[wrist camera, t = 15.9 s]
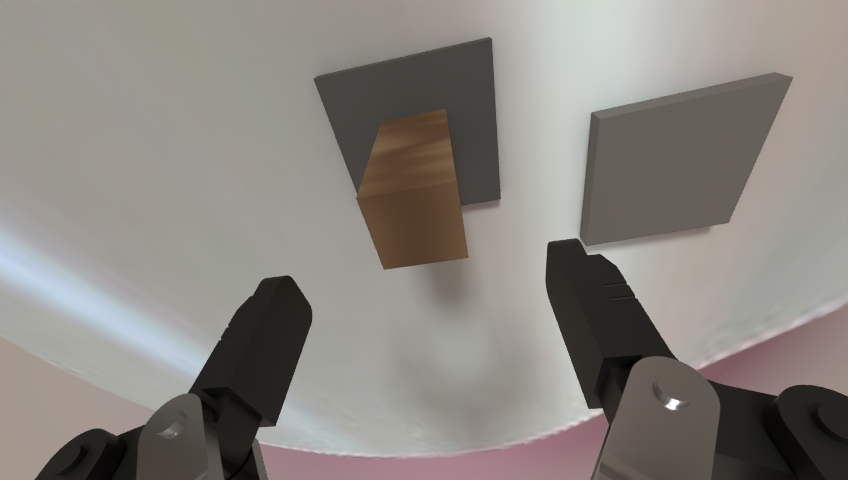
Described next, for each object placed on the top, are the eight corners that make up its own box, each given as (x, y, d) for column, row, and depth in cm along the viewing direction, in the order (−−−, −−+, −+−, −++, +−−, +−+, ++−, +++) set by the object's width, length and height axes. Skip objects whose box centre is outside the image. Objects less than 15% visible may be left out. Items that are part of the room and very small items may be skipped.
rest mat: (489, 37, 16) (491, 38, 15) (498, 194, 21) (500, 198, 21) (316, 76, 17) (313, 79, 16) (368, 215, 22) (367, 220, 22)
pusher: (445, 108, 17) (456, 180, 11) (455, 169, 19) (468, 257, 13) (381, 121, 18) (356, 198, 11) (397, 179, 20) (383, 269, 14)
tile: (793, 77, 16) (728, 222, 21) (766, 70, 17) (711, 209, 22) (600, 119, 17) (586, 245, 22) (588, 109, 18) (577, 232, 24)
